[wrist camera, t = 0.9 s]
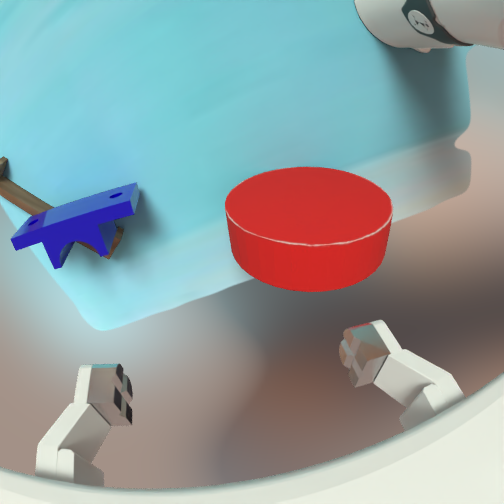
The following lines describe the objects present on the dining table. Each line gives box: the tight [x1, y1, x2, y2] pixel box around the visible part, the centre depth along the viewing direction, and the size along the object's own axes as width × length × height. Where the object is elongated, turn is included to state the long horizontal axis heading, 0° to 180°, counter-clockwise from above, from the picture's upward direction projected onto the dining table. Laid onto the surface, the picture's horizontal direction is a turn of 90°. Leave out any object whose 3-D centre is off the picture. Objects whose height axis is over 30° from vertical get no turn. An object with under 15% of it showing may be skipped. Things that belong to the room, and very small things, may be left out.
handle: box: [0, 156, 124, 259], centre depth 36 cm, size 4×24×4 cm, turn 49°
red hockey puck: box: [225, 167, 393, 292], centre depth 37 cm, size 20×6×20 cm, turn 95°
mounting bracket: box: [11, 182, 140, 269], centre depth 35 cm, size 18×7×6 cm
